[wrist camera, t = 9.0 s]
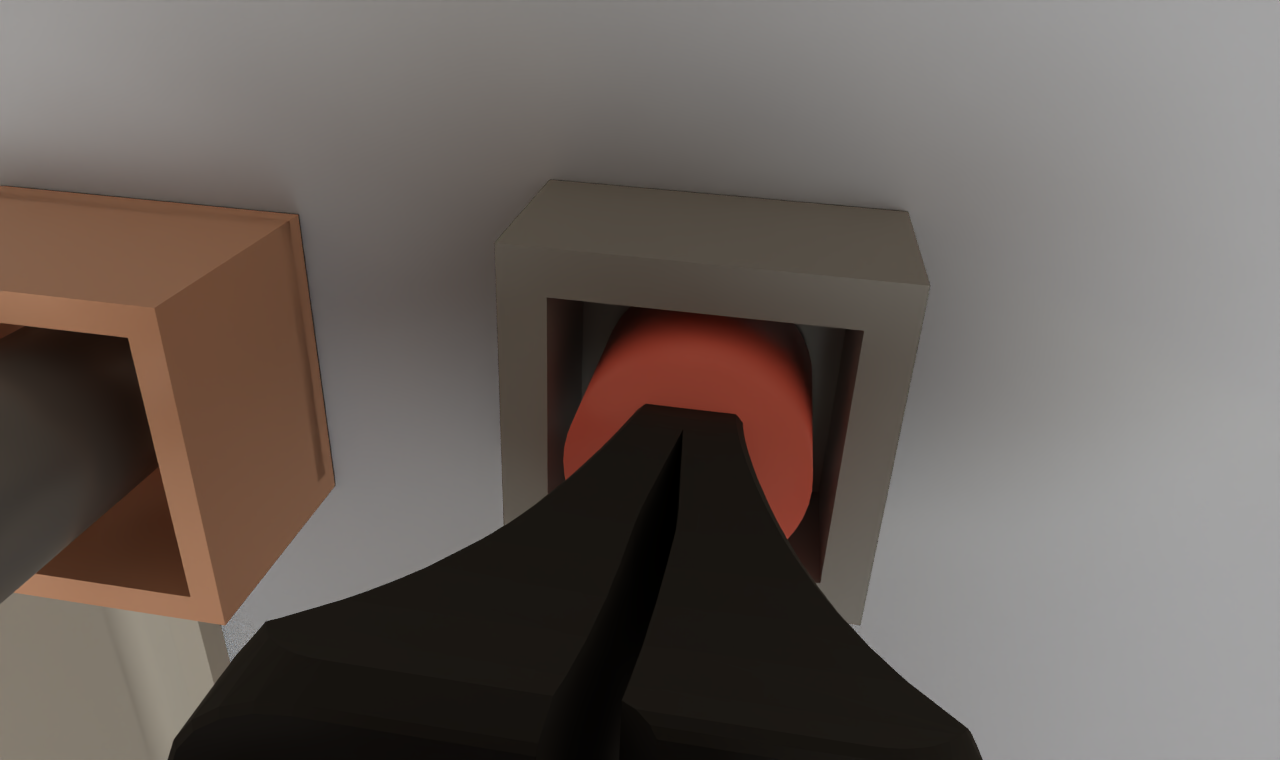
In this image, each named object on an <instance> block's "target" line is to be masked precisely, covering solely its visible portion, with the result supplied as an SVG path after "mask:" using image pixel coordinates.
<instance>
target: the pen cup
mask: <svg viewBox="0 0 1280 760" xmlns="http://www.w3.org/2000/svg"><path fill="white" fill-rule="evenodd" d="M24 326H31V327H40V328H49V329H57V330H66V331H74V332H83V333H91V334H100V335H108V336H117V337H126V338H128V341H129V345H130V349H131V353H132V357H133V361H134V365H135V369H136V374H137V378H138V382H139V386H140V390H141V394H142V398H143V403H144V407H145V411H146V415H147V419H148V423H149V427H150V431H151V436H152V440H153V444H154V448H155V452H156V456H157V460H158V464H159V467H158V468H157V469H156V470H154V471H153V472H152V473H151V474H150V475H149V476H147V477H146V478H145V479H144V480H143V481H142V482H141V483H139V484H138V485H137V486H136V487H135V488H134V489H132V490H131V491H130V492H129V493H128V494H127V495H126V496H124V497H123V498H122V499H121V500H120V501H119V502H117V503H116V504H115V505H114V506H113V507H112V508H111V509H109V510H108V511H107V512H106V513H105V514H104V515H102V516H101V517H100V518H99V519H98V520H97V521H96V522H94V523H93V524H92V525H91V526H90V527H89V528H87V529H86V530H85V531H84V532H83V533H82V534H81V535H79V536H78V537H77V538H76V539H75V540H74V541H73V542H71V543H70V544H69V545H68V546H67V547H66V548H64V549H63V550H62V551H61V552H60V553H59V554H58V555H56V556H55V557H54V558H53V559H52V560H51V561H49V562H48V563H47V564H46V565H45V566H44V567H43V568H41V569H40V570H39V571H38V572H37V573H36V574H34V575H33V576H32V577H31V578H30V579H29V580H28V581H26V582H25V583H24V584H23V585H22V586H21V587H19V588H18V589H17V590H16V591H15V592H14V593H19V594H25V595H32V596H38V597H45V598H51V599H58V600H64V601H70V602H77V603H83V604H90V605H96V606H103V607H109V608H116V609H122V610H129V611H135V612H142V613H148V614H154V615H161V616H167V617H174V618H180V619H187V620H193V621H200V622H206V623H213V624H219V625H226V624H227V623H228V621H229V620H230V619H231V617H232V616H233V615H234V614H235V612H236V611H237V610H238V609H239V607H240V606H241V605H242V603H243V602H244V601H245V600H246V598H247V597H248V596H249V595H250V593H251V592H252V591H253V589H254V588H255V587H256V586H257V584H258V583H259V582H260V581H261V579H262V578H263V577H264V576H265V574H266V573H267V572H268V570H269V569H270V568H271V567H272V565H273V564H274V563H275V562H276V560H277V559H278V558H279V556H280V555H281V554H282V553H283V551H284V550H285V549H286V548H287V546H288V545H289V544H290V543H291V541H292V540H293V539H294V537H295V536H296V535H297V534H298V532H299V531H300V530H301V529H302V527H303V526H304V525H305V523H306V522H307V521H308V520H309V518H310V517H311V516H312V515H313V513H314V512H315V511H316V510H317V508H318V507H319V506H320V504H321V503H322V502H323V501H324V499H325V498H326V497H327V496H328V494H329V493H330V492H331V490H332V489H333V488H334V487H335V482H334V475H333V467H332V460H331V453H330V445H329V438H328V431H327V423H326V416H325V408H324V401H323V394H322V386H321V379H320V372H319V364H318V357H317V350H316V342H315V335H314V328H313V320H312V313H311V306H310V298H309V291H308V284H307V276H306V269H305V262H304V254H303V247H302V240H301V232H300V225H299V218H298V215H296V214H286V213H275V212H265V211H255V210H245V209H234V208H224V207H214V206H203V205H193V204H183V203H173V202H162V201H152V200H142V199H132V198H121V197H111V196H101V195H91V194H80V193H70V192H60V191H50V190H39V189H29V188H19V187H9V186H0V339H1V338H3V337H5V336H7V335H9V334H11V333H13V332H15V331H16V330H18V329H20V328H22V327H24Z"/></svg>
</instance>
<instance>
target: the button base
mask: <svg viewBox="0 0 1280 760" xmlns="http://www.w3.org/2000/svg"><path fill="white" fill-rule="evenodd" d="M495 273H496V304H497V334H498V365H499V395H500V426H501V456H502V487H503V518H504V526H505V525H506V524H508V523H509V522H511V521H512V520H514V519H515V518H517V517H518V516H520V515H521V514H522V513H524V512H525V511H527V510H528V509H529V508H531V507H532V506H533V505H535V504H536V503H537V502H539V501H540V500H541V499H542V498H544V497H545V496H546V495H547V494H549V493H550V492H551V491H552V490H554V489H555V488H556V487H557V486H559V485H560V484H561V483H562V482H564V481H565V480H566V479H565V475H564V464H563V457H564V446H565V442H566V438H567V433H568V431H569V429H570V426H571V424H572V421H573V419H574V417H575V415H576V412H577V410H578V408H579V405H580V403H581V401H582V399H583V396H584V394H585V392H586V390H587V387H588V385H589V383H590V381H591V378H592V376H593V374H594V371H595V369H596V367H597V365H598V362H599V360H600V358H601V356H602V353H603V351H604V349H605V347H606V344H607V342H608V340H609V337H610V335H611V333H612V331H613V329H614V327H615V326H616V324H617V322H618V321H619V319H620V318H621V317H622V316H623V314H624V313H625V312H626V311H627V310H628V309H629V308H630V307H631V306H633V307H643V308H652V309H662V310H671V311H681V312H690V313H700V314H709V315H719V316H728V317H738V318H747V319H757V320H766V321H776V322H785V323H794V324H795V326H796V327H797V328H798V330H799V332H800V334H801V335H802V337H803V339H804V341H805V344H806V346H807V349H808V351H809V356H810V360H811V365H812V397H813V483H812V493H811V497H810V501H809V505H808V507H807V510H806V512H805V514H804V517H803V519H802V520H801V522H800V524H799V525H798V527H797V528H796V530H795V531H794V532H793V533H792V535H791V536H790V537H789V538H788V539H787V540H788V541H789V543H790V545H791V546H792V548H793V550H794V551H795V553H796V555H797V556H798V558H799V559H800V561H801V563H802V564H803V566H804V567H805V569H806V570H807V571H808V573H809V574H810V576H811V577H812V579H813V580H814V582H815V583H816V584H817V586H818V587H819V589H820V590H821V591H822V592H823V594H824V595H825V596H826V598H827V599H828V600H829V601H830V603H831V604H832V605H833V607H834V608H835V609H836V610H837V612H838V613H839V614H840V615H841V616H842V617H843V618H844V620H845V621H846V622H847V623H848V624H855V625H861V620H862V615H863V610H864V605H865V600H866V596H867V591H868V586H869V581H870V576H871V571H872V566H873V562H874V557H875V552H876V547H877V542H878V537H879V532H880V528H881V523H882V518H883V513H884V508H885V503H886V499H887V494H888V489H889V484H890V479H891V474H892V469H893V465H894V460H895V455H896V450H897V445H898V440H899V436H900V431H901V426H902V421H903V416H904V411H905V406H906V402H907V397H908V392H909V387H910V382H911V377H912V373H913V368H914V363H915V358H916V353H917V348H918V343H919V339H920V334H921V329H922V324H923V319H924V314H925V309H926V305H927V300H928V295H929V290H930V283H929V280H928V276H927V273H926V270H925V266H924V263H923V260H922V256H921V253H920V250H919V246H918V243H917V240H916V236H915V233H914V230H913V226H912V223H911V220H910V216H909V213H908V212H904V211H893V210H882V209H871V208H860V207H848V206H837V205H826V204H815V203H804V202H793V201H782V200H770V199H759V198H748V197H737V196H726V195H715V194H704V193H692V192H681V191H670V190H659V189H648V188H637V187H625V186H614V185H603V184H592V183H581V182H570V181H559V180H549V181H548V182H547V184H546V185H545V186H544V187H543V188H542V189H541V190H540V192H539V193H538V194H537V195H536V196H535V197H534V198H533V200H532V201H531V202H530V203H529V204H528V205H527V206H526V208H525V209H524V210H523V211H522V212H521V213H520V214H519V216H518V217H517V218H516V219H515V220H514V221H513V222H512V224H511V225H510V226H509V227H508V228H507V229H506V230H505V232H504V233H503V234H502V235H501V236H500V237H499V238H498V240H497V241H496V242H495Z"/></svg>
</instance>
